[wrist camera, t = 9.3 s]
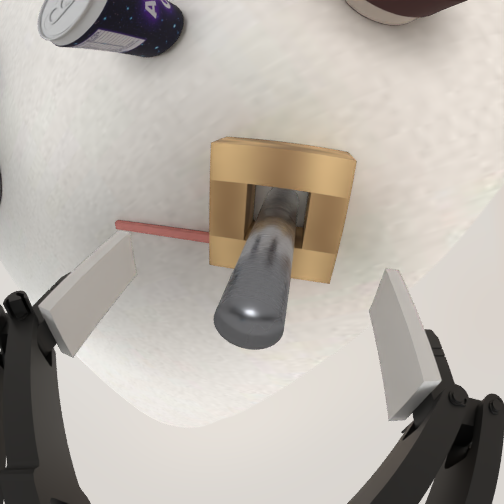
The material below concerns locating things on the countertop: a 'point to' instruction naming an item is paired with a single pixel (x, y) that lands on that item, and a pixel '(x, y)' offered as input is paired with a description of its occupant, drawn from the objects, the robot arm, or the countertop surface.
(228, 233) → the wooden square frame
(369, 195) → the countertop surface
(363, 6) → the coffee cup
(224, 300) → the grey capsule rod
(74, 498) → the robot arm
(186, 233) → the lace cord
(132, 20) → the beverage can
